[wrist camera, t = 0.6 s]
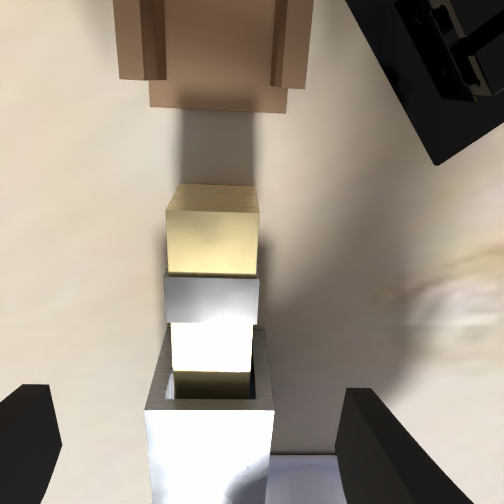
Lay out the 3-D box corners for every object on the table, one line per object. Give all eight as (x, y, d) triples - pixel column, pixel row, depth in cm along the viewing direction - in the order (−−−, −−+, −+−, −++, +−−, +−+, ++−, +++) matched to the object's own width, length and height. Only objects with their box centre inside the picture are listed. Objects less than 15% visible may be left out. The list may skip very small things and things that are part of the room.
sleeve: (257, 417, 23) (263, 511, 18) (171, 417, 23) (153, 512, 18) (264, 329, 20) (274, 410, 15) (166, 327, 20) (144, 410, 15)
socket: (284, 112, 16) (306, 127, 11) (153, 105, 16) (113, 118, 11) (294, -24, 14) (328, -81, 9) (145, -35, 14) (93, -100, 9)
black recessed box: (281, -59, 14) (300, -118, 10) (463, -226, 12) (579, -380, 8) (428, 199, 18) (485, 235, 14) (577, 101, 17) (691, 109, 13)
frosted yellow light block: (244, 419, 22) (246, 484, 19) (184, 419, 22) (174, 484, 19) (257, 185, 16) (264, 215, 13) (176, 182, 16) (160, 211, 13)
